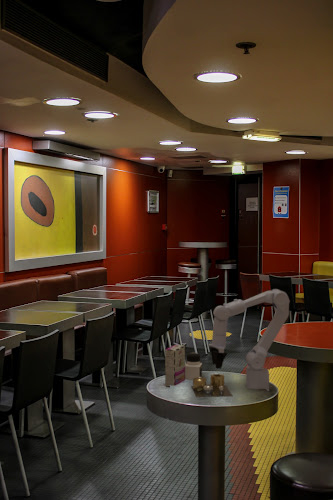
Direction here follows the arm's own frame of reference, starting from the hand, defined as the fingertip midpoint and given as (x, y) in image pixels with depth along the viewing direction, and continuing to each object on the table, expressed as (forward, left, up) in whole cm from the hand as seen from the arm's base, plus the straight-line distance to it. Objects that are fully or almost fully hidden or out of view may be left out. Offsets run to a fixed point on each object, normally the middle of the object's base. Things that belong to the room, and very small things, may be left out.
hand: (216, 366), depth 249 cm
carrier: (+3, +6, -10) cm, 12 cm away
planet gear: (0, 0, -9) cm, 9 cm away
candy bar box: (+17, -9, -10) cm, 22 cm away
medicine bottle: (+8, -16, -10) cm, 21 cm away
